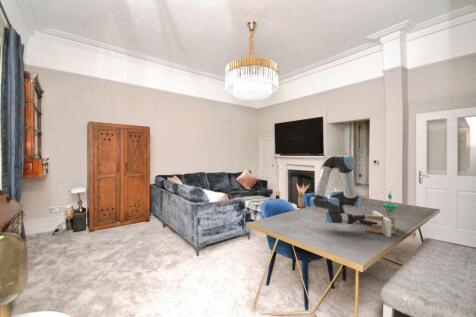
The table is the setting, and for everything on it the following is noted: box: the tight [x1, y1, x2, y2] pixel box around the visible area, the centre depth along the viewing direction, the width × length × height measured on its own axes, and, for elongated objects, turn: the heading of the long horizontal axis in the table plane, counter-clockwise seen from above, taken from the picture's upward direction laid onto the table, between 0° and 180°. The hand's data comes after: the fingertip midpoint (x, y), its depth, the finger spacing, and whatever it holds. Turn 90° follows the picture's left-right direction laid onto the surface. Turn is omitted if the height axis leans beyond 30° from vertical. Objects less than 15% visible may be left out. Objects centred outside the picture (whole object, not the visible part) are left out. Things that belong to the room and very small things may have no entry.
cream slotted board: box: [371, 210, 392, 238], centre depth 165 cm, size 26×2×12 cm, turn 169°
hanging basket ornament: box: [381, 190, 399, 232], centre depth 170 cm, size 11×11×30 cm
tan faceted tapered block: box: [365, 214, 396, 235], centre depth 161 cm, size 2×18×12 cm, turn 79°
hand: (377, 220), depth 162 cm, fingers open, 11 cm apart
